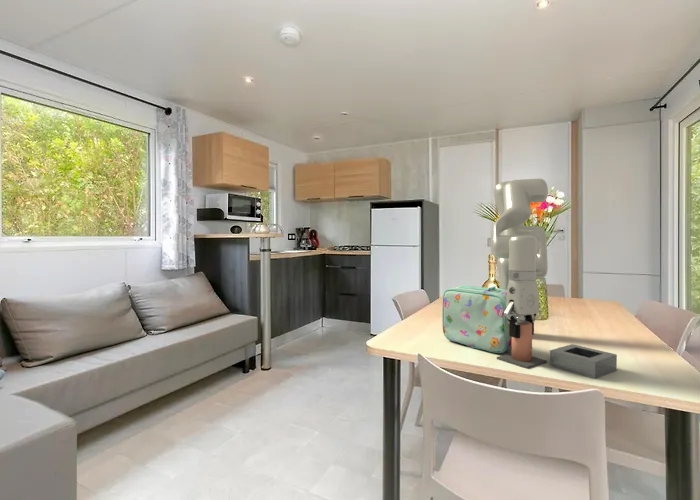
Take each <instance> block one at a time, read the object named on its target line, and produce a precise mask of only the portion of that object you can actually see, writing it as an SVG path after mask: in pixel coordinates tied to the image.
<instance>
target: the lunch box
mask: <svg viewBox="0 0 700 500" xmlns="http://www.w3.org/2000/svg"><path fill="white" fill-rule="evenodd" d="M496 287H497V286H492V287H482V286H476V285H475V286H473V285H466V284H465V285H464V284H461V285H459V286H458V285H457V287H451V288H450V287H449V288H447V289H445V290H444V292H443V295H442V315H441V316H442V332H443V335H444V337H445V338H446V339H447V340H449V341H451V342H455V343H459V344H461V345H465V346H467V347H470V348H471V349H477V350H483V351H487V352H489V353H496V354H503V353H505V352H507V351H508V350H512V337H511V336H510V335H509V324H510V323H508V320H507V317H506V316H505V315H504V312H505V310H506V308H507V307H506V301H507V290H505V289H500V288H496ZM515 314H517V313H515ZM514 318H515V319H516V316H514Z"/></svg>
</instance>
